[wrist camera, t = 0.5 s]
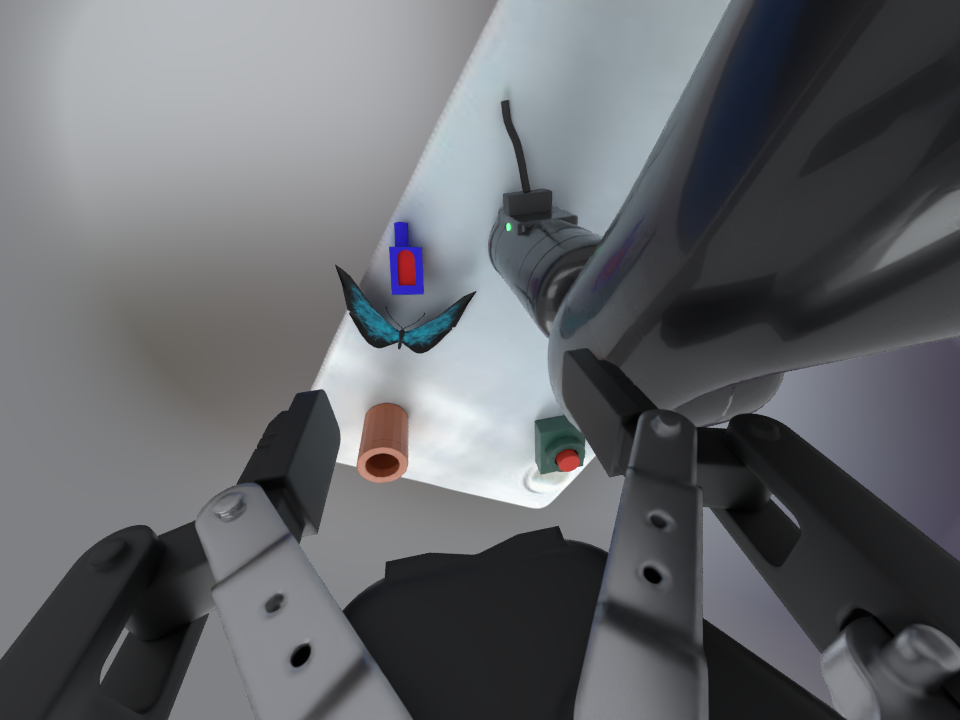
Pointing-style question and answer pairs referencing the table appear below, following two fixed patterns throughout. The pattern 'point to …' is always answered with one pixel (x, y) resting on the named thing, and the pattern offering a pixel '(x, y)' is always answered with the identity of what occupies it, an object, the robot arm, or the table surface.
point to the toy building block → (405, 264)
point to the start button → (567, 460)
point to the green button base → (556, 442)
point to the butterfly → (385, 334)
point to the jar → (384, 444)
